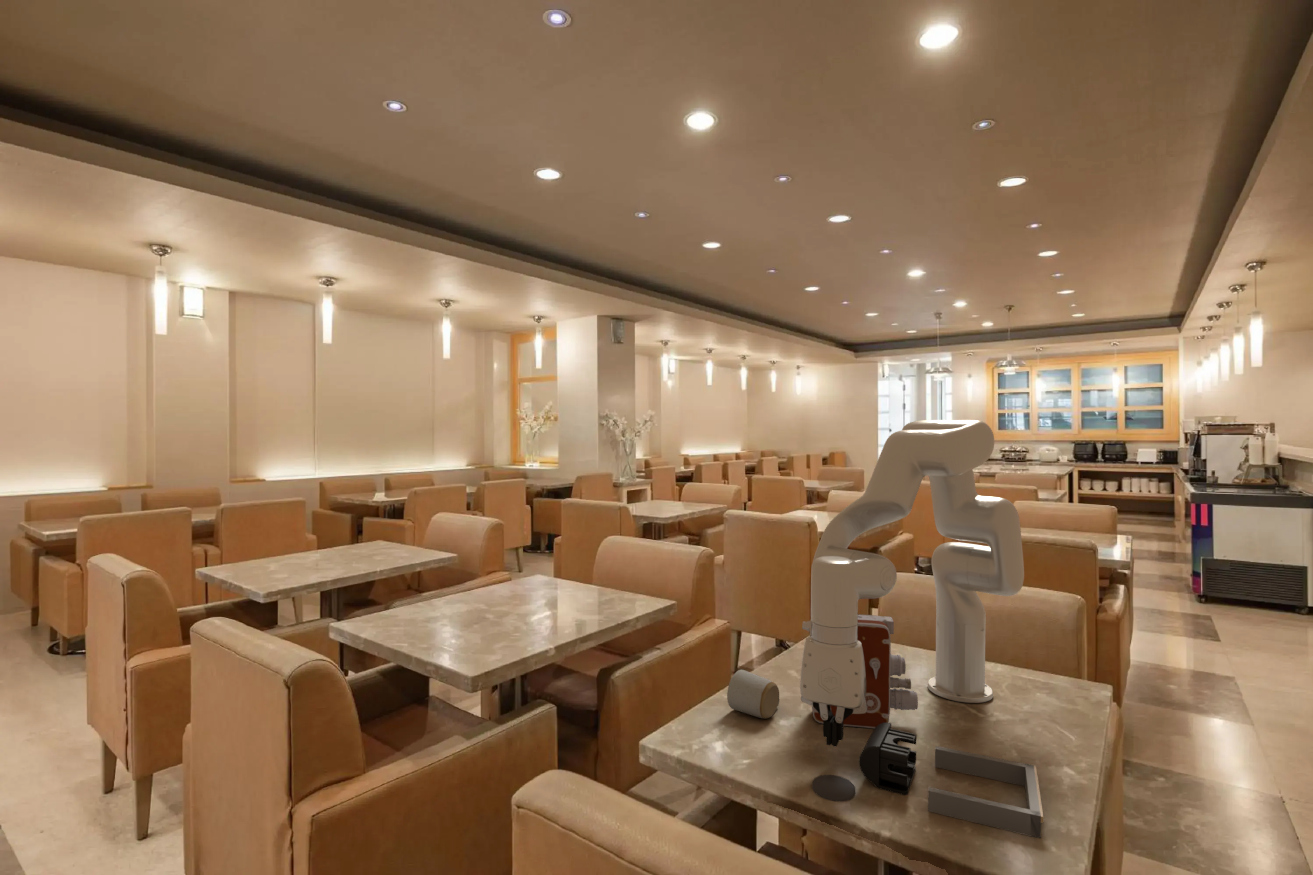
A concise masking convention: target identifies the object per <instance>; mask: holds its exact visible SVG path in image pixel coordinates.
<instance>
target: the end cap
mask: <svg viewBox="0 0 1313 875" xmlns="http://www.w3.org/2000/svg"><path fill="white" fill-rule="evenodd" d="M899 742H903V743H905V744H906V743H907V744H911V745H914V746H915V745H916V746H917V734H916V733H913V732H908V731H904V730H898V729H894V728H892V723H891V722H888V723H881V724H879V725H877V726H876V727H875V728H873V730H872V733H871V734H870V735H869V737H868V740H867V742H866V744H865V745H864V746H863V749H862V750H861V753H860V755H859V757H858V758H859V759H858V763H859V768H860V771H861V773H862V774H863V777H865V779H867V781H869V782H870V783H871V784H872V785H873V786H874V787H875V788H877V789H880V790H884V791H888V792H889V793H895V794H898V795H902V796H907V795H908V794H909V791H910V789H911V785H912V782H913V779H914V776H915V773H916V765H917V751H915V750H912V749H911V747H909V746H908V747H907V746H903V745H900V744H898V743H899Z"/></svg>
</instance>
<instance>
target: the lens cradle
mask: <svg viewBox="0 0 1313 875" xmlns="http://www.w3.org/2000/svg"><path fill="white" fill-rule="evenodd" d="M934 767H935V768H938V769H944V770H948V771H952V772H957V773H961V774H966V775H970V776H971V775H972V776H976V777H979V778H984V779H990V780H993V781H1000V782H1004V783H1008V784H1014V785H1017V786H1022V787H1024V788H1025V789H1024V790H1025V798H1026V806H1027V807H1026V808H1025V807H1019V806H1015V805H1011V804H1007V803H1002V802H997V801H994V800H988V799H983V798H981V797H976V796H971V795H967V794H963V793H958V792H954V791H949V790H945V789H941V788H936V787H933V786H928V791H927V793H928V794H927V799H928V800H927V808H928V809H927V811H928V812H930V813H933V814H938V815H942V816H947V817H951V818H955V819H959V820H964V821H967V822H972V823H976V824H979V825H982V826H983V825H984V826H989V827H991V828H995V829H999V830H1005V831H1009V832H1013V833H1017V834H1020V835H1025V836H1030V837H1033V838H1037V839H1041V835H1042V834H1041V833H1042V832H1041V828H1042V827H1041V826H1042V825H1041V824H1042V823H1044V813H1043V812H1044V811H1043V805H1042V800H1041V799H1042V797H1041V791H1040V786H1039V784H1040V783H1039V777H1038V771H1037V766H1036V765H1035V764H1034V765H1032V764H1029V763H1024V762H1019V761H1014V760H1009V759H1004V758H999V757H993V756H987V755H984V754H978V753H973V752H970V751H969V752H968V751H963V750H959V749H953V748H948V747H943V746H939V745H938V746H937V745H935V748H934Z"/></svg>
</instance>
